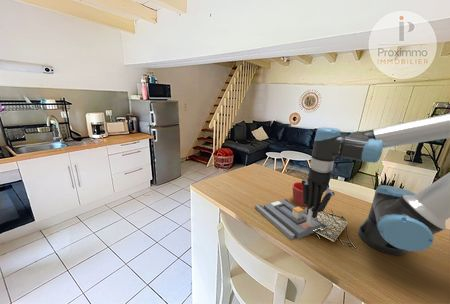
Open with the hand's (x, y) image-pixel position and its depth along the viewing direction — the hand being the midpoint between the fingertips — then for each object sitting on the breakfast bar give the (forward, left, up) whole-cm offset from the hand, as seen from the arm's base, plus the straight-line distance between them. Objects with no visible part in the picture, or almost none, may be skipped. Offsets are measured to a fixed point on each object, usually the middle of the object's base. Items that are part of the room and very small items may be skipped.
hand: (310, 222), depth 76 cm
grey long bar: (+12, +8, -5) cm, 16 cm away
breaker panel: (+10, 0, -5) cm, 12 cm away
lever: (+6, 0, -2) cm, 7 cm away
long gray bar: (+10, -9, -5) cm, 14 cm away
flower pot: (+18, -17, -6) cm, 26 cm away
